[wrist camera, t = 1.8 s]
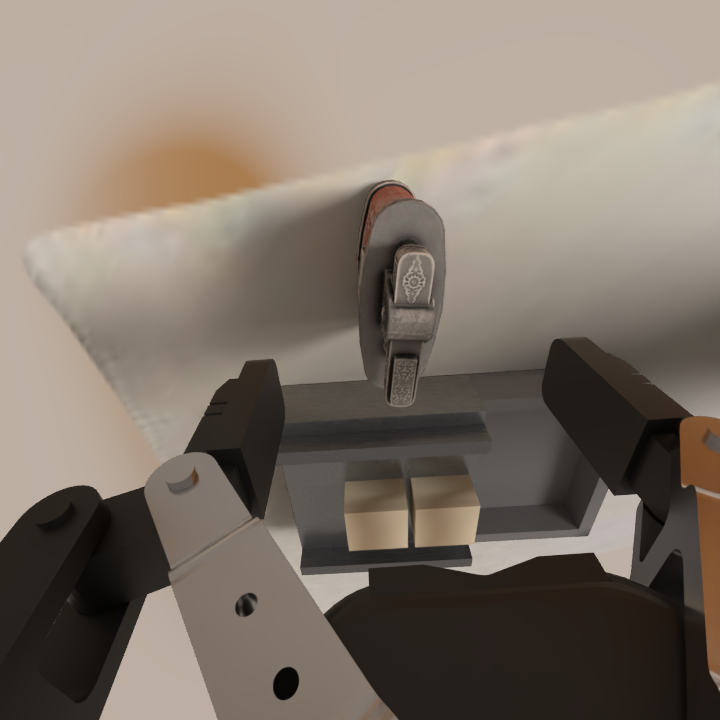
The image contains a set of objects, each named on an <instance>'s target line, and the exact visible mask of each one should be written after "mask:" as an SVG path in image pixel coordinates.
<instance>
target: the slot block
mask: <svg viewBox="0 0 720 720" xmlns="http://www.w3.org/2000/svg"><path fill="white" fill-rule="evenodd" d="M281 390H282V394H283V399H284V404H285V423H284V428H283V432H282V437H281V442H280V446H279V451H278V455H277V460H276V465H275V466H282V468H283V472H284V476H285V480H286V485H287V489H288V493H289V497H290V501H291V505H292V509H293V513H294V517H295V521H296V525H297V529H298V533H299V537H300V541H301V545H302V557H301V565H300V569H301V573H302V575H315V574H334V573H352V572H369V571H368V568H380V567H394V566H409V565H423V564H424V565H429V566H434V567H440V568H445V567H464V566H471V564H472V556H471V552H470V549H469V545H468V544H467V545H449V546H431V547H415V543H414V537H413V530H412V524H411V517H410V486H411V478H417V477H434V476H451V475H468V474H469V475H470V477H471V480H472V483H473V486H474V489H475V483H476V476H477V469H478V463H479V456H480V454H485V453H490V452H491V446H492V439H491V437H490V435H489V432H488V430H487V428H486V426H485V424H484V423H485V416H486V409H485V407H484V405H483V403H482V401H481V399H480V397H479V395H478V393H477V391H476V389H475V387H474V385H473V383H472V381H471V379H470V377H469V375H468V374H463V375H447V376H431V377H420V378H419V380H418V383H417V390H416V397H415V400H414V402H413V403H412V404H411V405H409V406H407V407H395V406H390V405H388V404H387V402H386V399H385V392H384V389H382V388H380V387H378V386H375V385H374V384H372V383H371V382H370V381H369V380H367V381H351V382H335V383H320V384H304V385H288V386H282V389H281ZM399 478H403V480H404V486H405V493H406V500H407V506H408V548H394V549H376V550H358V551H349V546H348V539H347V531H346V524H345V517H344V496H345V482H348V481H365V480H382V479H399Z"/></svg>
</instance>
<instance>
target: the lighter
mask: <svg viewBox="0 0 720 720" xmlns="http://www.w3.org/2000/svg"><path fill="white" fill-rule="evenodd" d="M445 275H446V260H445V229H444V225H443V221H442V218H441V217H440V216H439V214H438V213H437V212H436V210H435V209H434V208H432V207H431V206H430V205H428V204H426V203H425V202H423V201H422V200H418V199H416V198H415V195H414V193H413V192H412V191H411V189H410V188H409V187H408V186H406V185H405V184H403V183H402V182H399V181H395V180H387V181H382V182H380V183H378V184H376V185H375V186H374V187H373V188H372V189H371V190H370V191H369V193H368V195H367V197H366V201H365V206H364V210H363V215H362V219H361V224H360V229H359V238H358V248H357V283H358V307H359V336H360V347H361V353H362V359H363V364H364V370H365V374H366V376H367V378H368V380H369V381H370V382H371V383H372V384H374V385H375V386H378V387H380V388H382V389H384V392H385V399H386V402H387V404H388V405H390V406H395V407H407V406H409V405H411V404H412V403H413V402H414V400H415V397H416V390H417V383H418V380H419V378H420V377H421V375H422V374H423V371H424V368H425V366H426V363H427V361H428V358H429V355H430V353H431V350H432V348H433V345H434V341H435V337H436V333H437V329H438V325H439V321H440V317H441V313H442V306H443V296H444V285H445Z"/></svg>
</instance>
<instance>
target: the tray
mask: <svg viewBox="0 0 720 720" xmlns="http://www.w3.org/2000/svg"><path fill="white" fill-rule="evenodd" d="M544 373H545V369H543V370H527V371H511V372H495V373H479V374H468V375H469V377H470V379H471V381H472V383H473V385H474V387H475V389H476V391H477V393H478V395H479V397H480V399H481V401H482V403H483V405H484V407H485V409H486V416H485V423H484V424H485V426H486V428H487V430H488V432H489V435H490V437H491V439H492V446H491V452H490V453H485V454H480V456H479V463H478V469H477V476H476V483H475V492H476V495H477V497H478V500H479V503H480V512H479V518H478V524H477V530H476V536H475V542H487V541H505V540H523V539H542V538H560V537H578V536H588V535H589V532H590V530H591V528H592V525H593V523H594V521H595V519H596V516H597V514H598V512H599V509H600V507H601V505H602V502H603V500H604V498H605V495H606V493H607V491H608V489H609V488H608V487H607V485H606V484H605V483H604V481H603V480H602V479H601V478H600V476H599V475H598V474H597V472H596V471H595V470H594V468H593V467H592V466H591V464H590V463H589V462H588V460H587V459H586V458H585V456H584V455H583V454H582V452H581V451H580V450H579V448H578V447H577V446H576V444H575V443H574V442H573V440H572V439H571V438H570V436H569V435H568V434H567V432H566V431H565V430H564V428H563V427H562V426H561V424H560V423H559V422H558V420H557V419H556V418H555V416H554V415H553V414H552V412H551V411H550V410H549V408H548V407H547V406H546V404H545V402H544V400H543V396H542V381H543V377H544Z"/></svg>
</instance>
